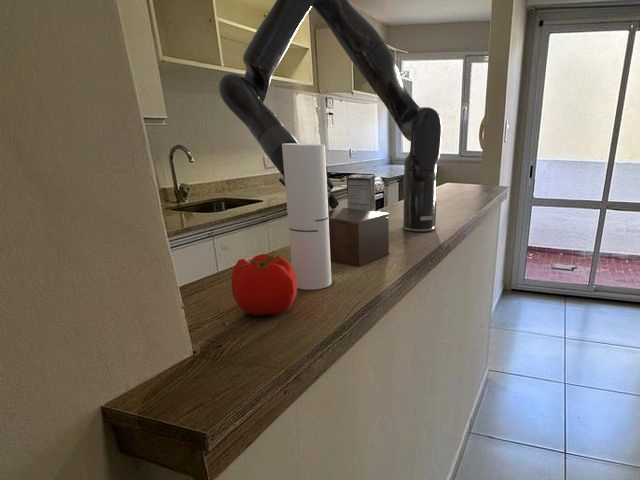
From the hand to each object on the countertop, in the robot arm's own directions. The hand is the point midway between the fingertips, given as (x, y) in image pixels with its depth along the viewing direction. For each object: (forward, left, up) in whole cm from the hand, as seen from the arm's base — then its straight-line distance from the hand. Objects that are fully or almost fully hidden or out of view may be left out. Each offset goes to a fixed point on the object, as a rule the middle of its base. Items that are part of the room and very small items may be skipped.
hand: (328, 208), depth 103 cm
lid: (-1, +4, -2) cm, 5 cm away
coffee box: (-17, -5, -11) cm, 21 cm away
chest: (-1, +5, -10) cm, 11 cm away
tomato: (+32, +20, -11) cm, 39 cm away
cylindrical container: (+18, +15, -11) cm, 26 cm away
